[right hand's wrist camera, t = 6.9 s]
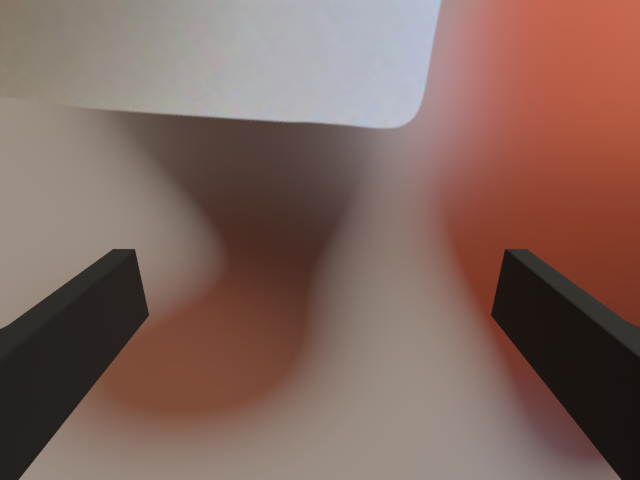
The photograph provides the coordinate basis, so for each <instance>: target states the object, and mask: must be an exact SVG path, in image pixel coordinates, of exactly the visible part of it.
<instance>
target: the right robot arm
mask: <svg viewBox="0 0 640 480" xmlns="http://www.w3.org/2000/svg"><path fill="white" fill-rule="evenodd" d="M148 316H149V313H148V308H147V304H146V299H145V294H144V290H143V285H142V280H141V276H140V271H139V266H138V262H137V257H136V252H135V249H113V250H111V251H110V252H109V253H107V254H106V255H105V256H103V257H102V258H100V259H99V260H98V261H96V262H95V263H94V264H92V265H91V266H89V267H88V268H87V269H85V270H84V271H82V272H81V273H80V274H78V275H77V276H76V277H74V278H73V279H71V280H70V281H69V282H67V283H66V284H64V285H63V286H62V287H60V288H59V289H58V290H56V291H55V292H53V293H52V294H51V295H49V296H48V297H47V298H45V299H44V300H42V301H41V302H40V303H38V304H37V305H35V306H34V307H33V308H31V309H30V310H29V311H27V312H26V313H24V314H23V315H22V316H20V317H19V318H17V319H16V320H15V321H13V322H12V323H11V324H9V325H8V326H6V327H4V328H2V329H0V480H19V478H20V477H21V476H22V475H23V473H24V472H25V471H26V470H27V468H28V467H29V466H30V465H31V463H32V462H33V461H34V459H35V458H36V457H37V456H38V454H39V453H40V452H41V451H42V449H43V448H44V447H45V446H46V444H47V443H48V442H49V441H50V439H51V438H52V437H53V436H54V434H55V433H56V432H57V431H58V429H59V428H60V427H61V425H62V424H63V423H64V422H65V420H66V419H67V418H68V417H69V415H70V414H71V413H72V412H73V410H74V409H75V408H76V407H77V405H78V404H79V403H80V402H81V400H82V399H83V398H84V396H85V395H86V394H87V393H88V391H89V390H90V389H91V388H92V386H93V385H94V384H95V383H96V381H97V380H98V379H99V378H100V376H101V375H102V374H103V373H104V371H105V370H106V369H107V367H108V366H109V365H110V364H111V362H112V361H113V360H114V359H115V357H116V356H117V355H118V354H119V352H120V351H121V350H122V349H123V347H124V346H125V345H126V344H127V342H128V341H129V340H130V338H131V337H132V336H133V335H134V333H135V332H136V331H137V330H138V328H139V327H140V326H141V325H142V323H143V322H144V321H145V320H146V318H147V317H148ZM491 316H492V317H493V318H494V320H495V321H496V322H497V323H498V325H499V326H500V327H501V328H502V330H503V331H504V332H505V333H506V335H507V336H508V337H509V338H510V340H511V341H512V342H513V344H514V345H515V346H516V347H517V349H518V350H519V351H520V352H521V354H522V355H523V356H524V357H525V359H526V360H527V361H528V362H529V364H530V365H531V366H532V367H533V369H534V370H535V371H536V373H537V374H538V375H539V376H540V378H541V379H542V380H543V381H544V383H545V384H546V385H547V386H548V388H549V389H550V390H551V391H552V393H553V394H554V395H555V396H556V398H557V399H558V400H559V402H560V403H561V404H562V405H563V407H564V408H565V409H566V410H567V412H568V413H569V414H570V415H571V417H572V418H573V419H574V420H575V422H576V423H577V424H578V425H579V427H580V428H581V429H582V431H583V432H584V433H585V434H586V436H587V437H588V438H589V439H590V441H591V442H592V443H593V444H594V446H595V447H596V448H597V449H598V451H599V452H600V453H601V454H602V456H603V457H604V458H605V460H606V461H607V462H608V463H609V465H610V466H611V467H612V468H613V470H614V471H615V472H616V473H617V475H618V476H619V477H620V478H621V480H640V327H638V326H635V325H633V324H631V323H629V322H627V321H625V320H624V319H623V318H621V317H620V316H618V315H617V314H616V313H614V312H613V311H611V310H610V309H609V308H607V307H606V306H605V305H603V304H602V303H600V302H599V301H598V300H596V299H595V298H593V297H592V296H591V295H589V294H588V293H587V292H585V291H584V290H582V289H581V288H580V287H578V286H577V285H576V284H574V283H573V282H571V281H570V280H569V279H567V278H566V277H564V276H563V275H562V274H560V273H559V272H558V271H556V270H555V269H553V268H552V267H551V266H549V265H548V264H546V263H545V262H544V261H542V260H541V259H540V258H538V257H537V256H535V255H534V254H533V253H531V252H530V251H529V250H527V249H505V253H504V257H503V262H502V266H501V271H500V276H499V280H498V285H497V290H496V294H495V299H494V304H493V308H492V313H491Z"/></svg>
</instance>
